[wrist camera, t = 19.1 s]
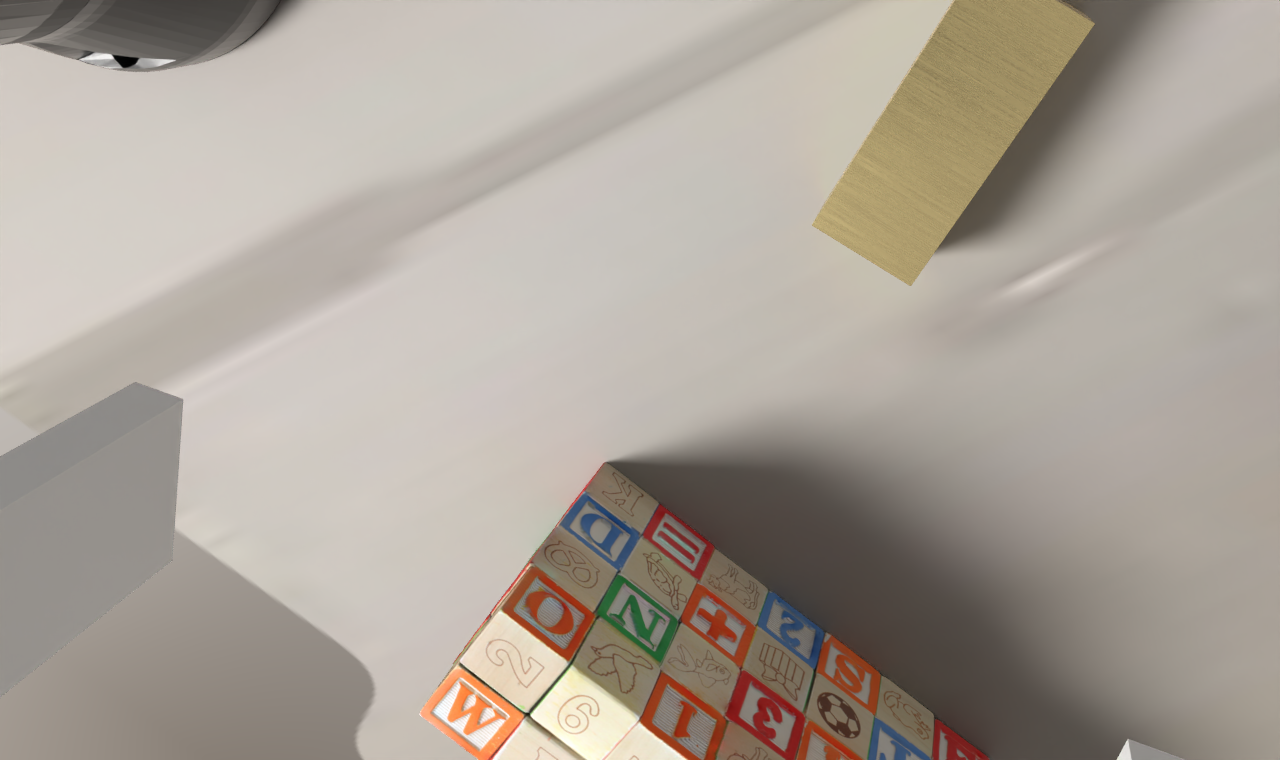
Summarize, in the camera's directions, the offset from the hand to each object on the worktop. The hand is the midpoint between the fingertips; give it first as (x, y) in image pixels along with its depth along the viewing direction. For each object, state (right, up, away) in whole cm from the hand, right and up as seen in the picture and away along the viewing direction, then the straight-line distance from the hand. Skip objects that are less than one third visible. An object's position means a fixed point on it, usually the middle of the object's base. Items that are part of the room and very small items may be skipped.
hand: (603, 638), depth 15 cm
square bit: (+13, +16, +22) cm, 30 cm away
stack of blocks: (+6, -8, +36) cm, 38 cm away
